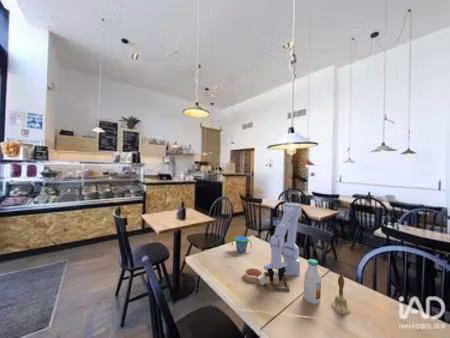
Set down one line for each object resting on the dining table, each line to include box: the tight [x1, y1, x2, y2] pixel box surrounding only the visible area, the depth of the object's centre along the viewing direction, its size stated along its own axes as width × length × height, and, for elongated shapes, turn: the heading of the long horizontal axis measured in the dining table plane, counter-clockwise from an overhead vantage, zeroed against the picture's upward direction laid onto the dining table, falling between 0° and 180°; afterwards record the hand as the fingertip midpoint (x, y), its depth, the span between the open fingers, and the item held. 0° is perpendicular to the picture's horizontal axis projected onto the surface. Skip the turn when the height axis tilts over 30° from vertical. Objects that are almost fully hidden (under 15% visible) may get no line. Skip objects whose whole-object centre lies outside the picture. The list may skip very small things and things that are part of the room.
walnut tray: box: [263, 271, 290, 292], centre depth 115 cm, size 12×16×2 cm
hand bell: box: [330, 274, 352, 315], centre depth 96 cm, size 8×8×16 cm
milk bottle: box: [303, 258, 322, 305], centre depth 101 cm, size 8×8×20 cm
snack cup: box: [231, 235, 252, 254], centre depth 158 cm, size 16×10×10 cm
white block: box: [258, 273, 267, 286], centre depth 113 cm, size 3×4×3 cm
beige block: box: [272, 275, 279, 285], centre depth 115 cm, size 3×4×3 cm
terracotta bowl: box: [244, 267, 264, 284], centre depth 120 cm, size 10×10×4 cm
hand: (275, 280), depth 115 cm, fingers closed on beige block, 5 cm apart
